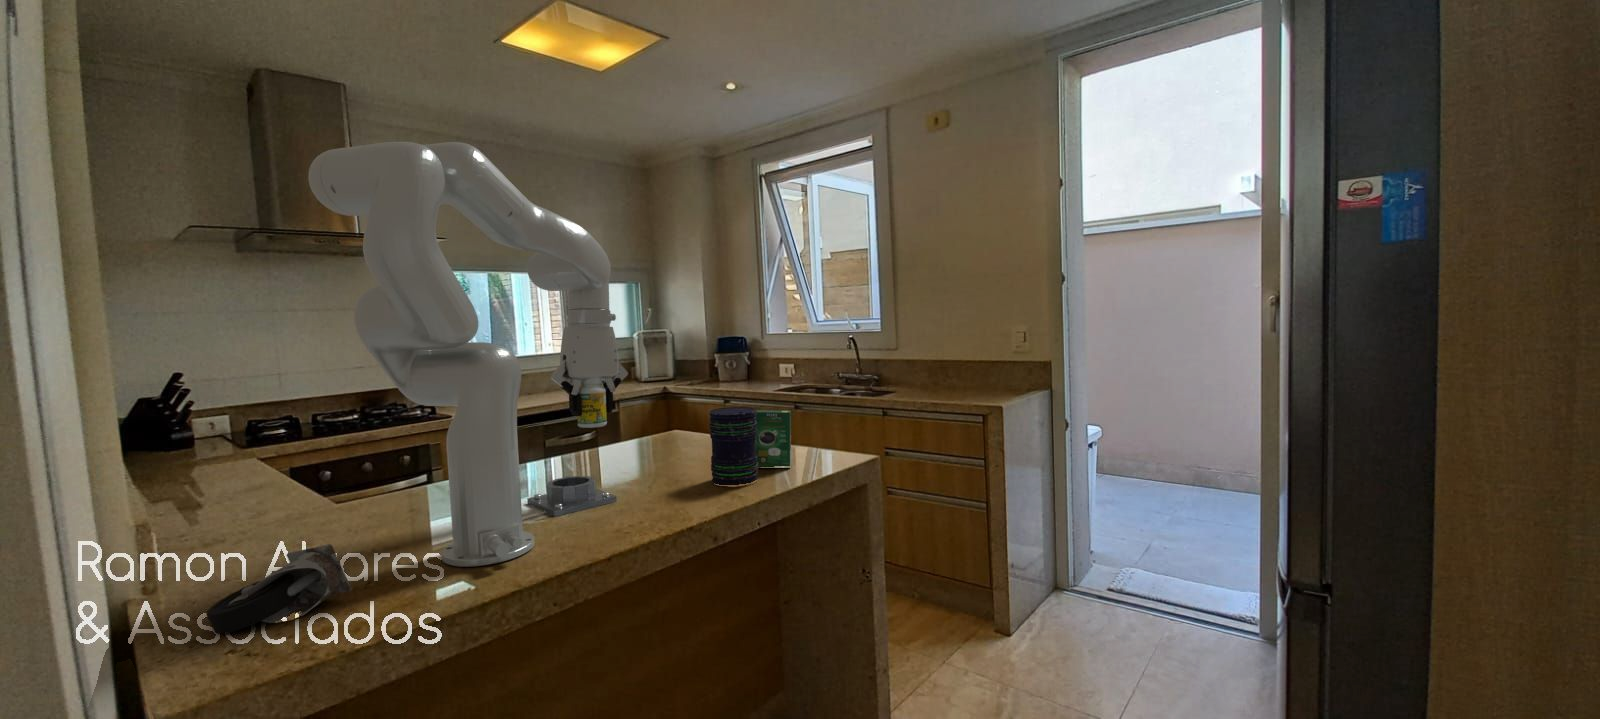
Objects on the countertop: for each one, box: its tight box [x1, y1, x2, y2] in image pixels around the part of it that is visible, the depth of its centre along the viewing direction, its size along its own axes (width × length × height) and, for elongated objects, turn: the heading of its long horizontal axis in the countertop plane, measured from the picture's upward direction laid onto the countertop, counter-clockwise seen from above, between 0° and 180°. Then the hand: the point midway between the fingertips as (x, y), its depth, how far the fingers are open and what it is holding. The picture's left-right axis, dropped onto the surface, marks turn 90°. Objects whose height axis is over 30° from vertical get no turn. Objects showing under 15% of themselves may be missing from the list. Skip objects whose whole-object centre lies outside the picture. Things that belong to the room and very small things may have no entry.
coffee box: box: [755, 409, 792, 467], centre depth 143 cm, size 8×3×13 cm, turn 85°
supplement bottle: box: [576, 377, 608, 429], centre depth 122 cm, size 5×5×10 cm
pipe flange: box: [526, 475, 618, 518], centre depth 121 cm, size 12×12×4 cm
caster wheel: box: [205, 543, 352, 635], centre depth 76 cm, size 7×11×10 cm
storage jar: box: [709, 406, 759, 485], centre depth 133 cm, size 10×10×15 cm
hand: (591, 413), depth 122 cm, fingers closed on supplement bottle, 5 cm apart
